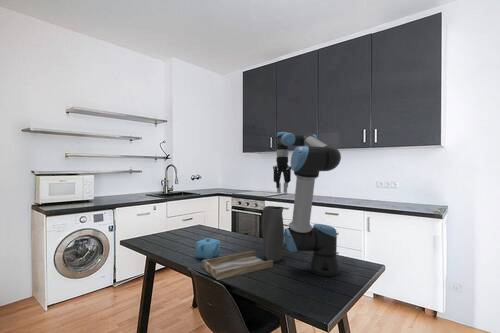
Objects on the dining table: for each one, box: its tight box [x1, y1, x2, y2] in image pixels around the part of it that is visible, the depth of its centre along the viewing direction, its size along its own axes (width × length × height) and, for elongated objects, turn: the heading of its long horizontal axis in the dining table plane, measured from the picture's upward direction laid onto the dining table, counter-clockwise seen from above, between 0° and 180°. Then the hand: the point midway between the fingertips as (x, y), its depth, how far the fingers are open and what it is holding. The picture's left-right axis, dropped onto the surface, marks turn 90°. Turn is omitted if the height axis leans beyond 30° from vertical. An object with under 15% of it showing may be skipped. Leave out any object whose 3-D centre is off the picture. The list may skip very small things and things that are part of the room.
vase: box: [261, 205, 285, 263], centre depth 155 cm, size 12×12×30 cm
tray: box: [201, 250, 274, 281], centre depth 143 cm, size 19×32×4 cm, turn 122°
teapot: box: [195, 237, 222, 260], centre depth 157 cm, size 16×18×11 cm
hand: (282, 192), depth 173 cm, fingers open, 4 cm apart
